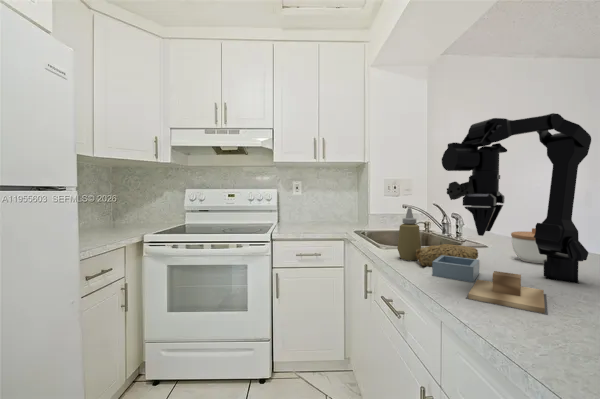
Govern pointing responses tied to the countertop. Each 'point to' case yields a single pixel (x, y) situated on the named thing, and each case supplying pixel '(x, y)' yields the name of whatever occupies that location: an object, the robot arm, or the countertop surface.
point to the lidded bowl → (527, 247)
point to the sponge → (444, 253)
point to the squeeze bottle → (409, 237)
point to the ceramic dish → (456, 268)
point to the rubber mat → (518, 308)
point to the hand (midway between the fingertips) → (484, 233)
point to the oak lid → (508, 292)
